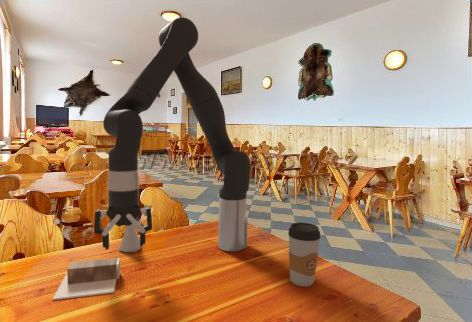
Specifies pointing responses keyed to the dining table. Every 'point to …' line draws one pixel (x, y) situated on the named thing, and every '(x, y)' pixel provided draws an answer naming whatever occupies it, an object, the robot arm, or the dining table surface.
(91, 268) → the grey metallic bar
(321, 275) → the dining table surface
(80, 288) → the mat
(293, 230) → the coffee cup
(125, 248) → the flask
